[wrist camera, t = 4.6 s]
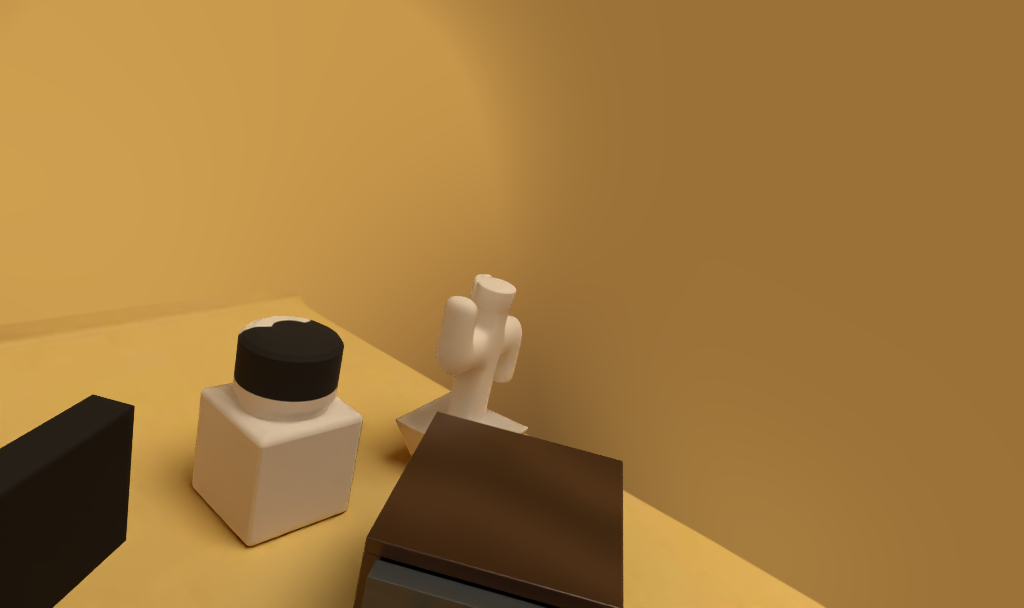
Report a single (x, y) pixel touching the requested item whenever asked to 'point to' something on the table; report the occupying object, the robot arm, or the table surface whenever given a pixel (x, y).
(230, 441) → the medicine bottle
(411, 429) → the figurine
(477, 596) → the grey pull-out drawer
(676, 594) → the table surface
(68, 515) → the robot arm
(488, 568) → the cabinet
